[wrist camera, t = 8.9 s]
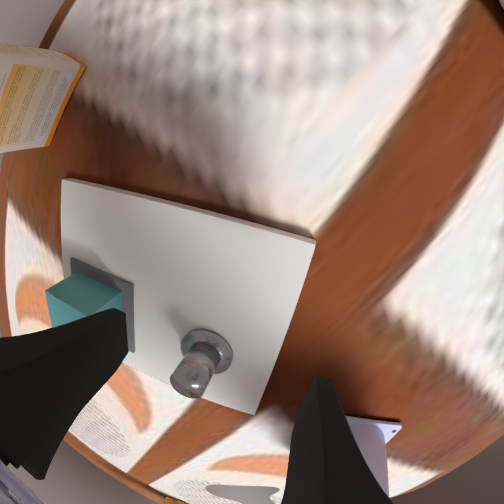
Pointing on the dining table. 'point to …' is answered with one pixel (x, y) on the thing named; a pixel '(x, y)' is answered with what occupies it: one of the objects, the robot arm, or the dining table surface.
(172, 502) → the pancake mix bag
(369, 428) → the robot arm
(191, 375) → the metal post
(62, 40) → the dining table surface
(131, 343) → the charcoal mat
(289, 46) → the dining table surface
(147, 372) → the pale board
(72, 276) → the turquoise box
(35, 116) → the supplement box
